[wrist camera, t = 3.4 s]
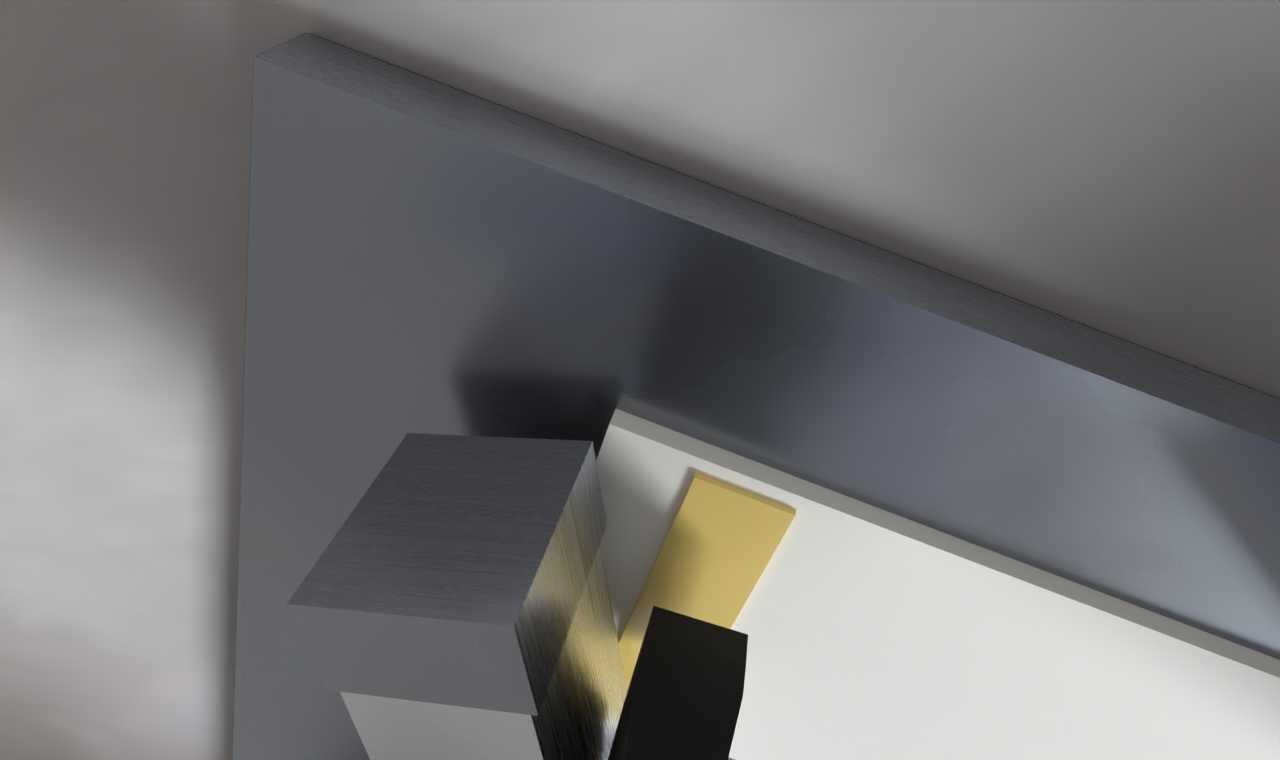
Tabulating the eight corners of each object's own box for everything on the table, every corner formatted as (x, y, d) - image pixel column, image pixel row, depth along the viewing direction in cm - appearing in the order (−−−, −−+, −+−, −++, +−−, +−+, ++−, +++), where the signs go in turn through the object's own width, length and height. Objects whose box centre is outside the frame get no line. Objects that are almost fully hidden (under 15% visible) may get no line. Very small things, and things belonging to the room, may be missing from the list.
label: (1101, 880, 13) (1106, 907, 13) (524, 660, 13) (516, 682, 13) (1359, 690, 10) (1375, 720, 10) (616, 408, 10) (607, 428, 10)
